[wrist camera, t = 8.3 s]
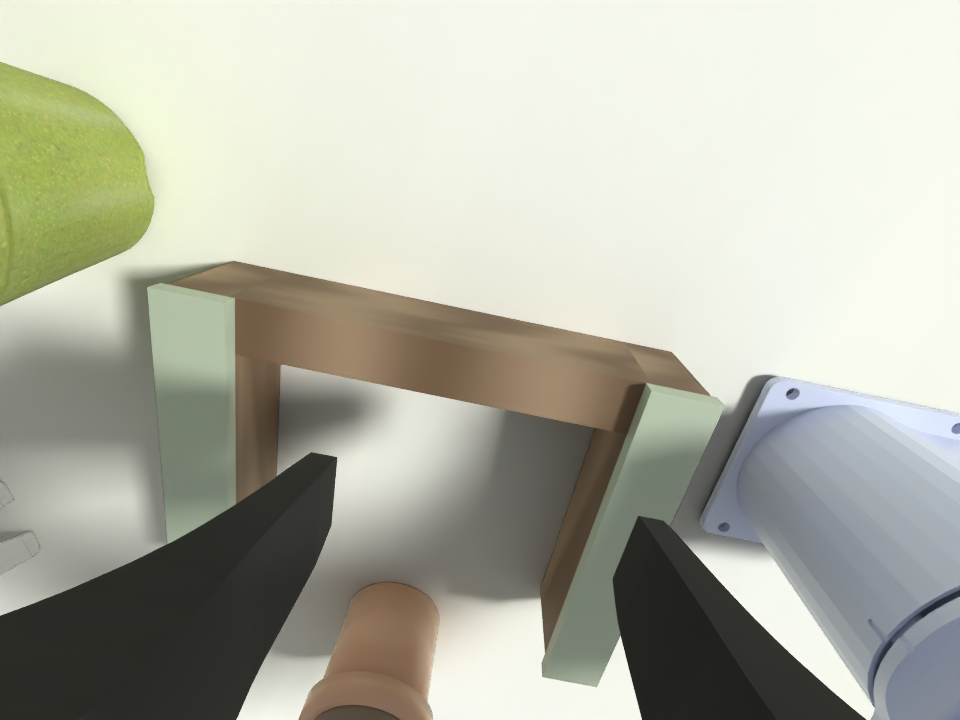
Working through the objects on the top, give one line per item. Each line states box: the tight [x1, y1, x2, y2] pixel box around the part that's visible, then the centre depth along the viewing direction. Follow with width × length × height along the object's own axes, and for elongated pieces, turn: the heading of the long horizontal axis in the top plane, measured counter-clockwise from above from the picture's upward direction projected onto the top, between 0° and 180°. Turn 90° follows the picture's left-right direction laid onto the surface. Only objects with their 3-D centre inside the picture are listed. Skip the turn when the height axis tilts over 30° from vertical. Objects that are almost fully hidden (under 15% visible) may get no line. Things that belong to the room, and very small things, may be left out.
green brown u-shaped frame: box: [147, 261, 725, 687], centre depth 19 cm, size 18×14×5 cm
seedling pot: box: [299, 582, 439, 720], centre depth 23 cm, size 6×6×6 cm
